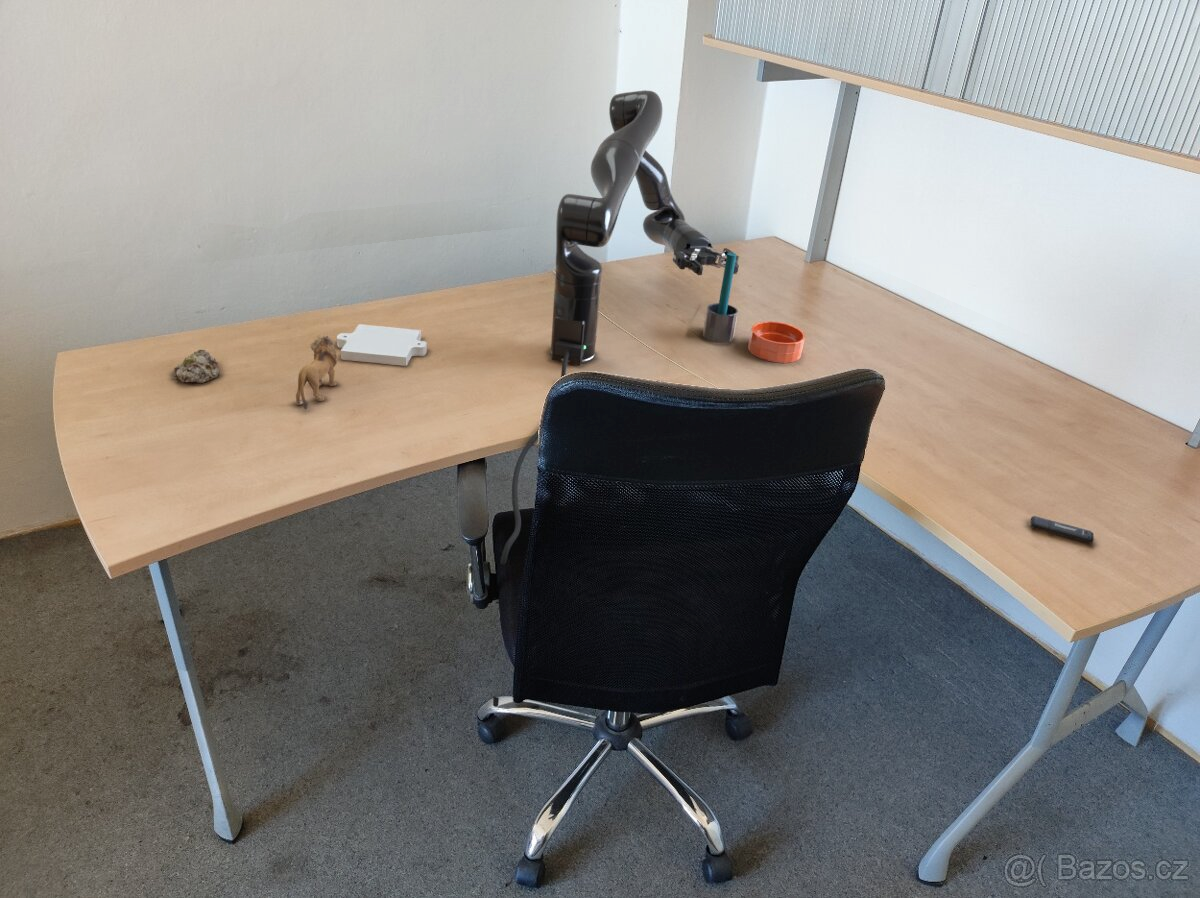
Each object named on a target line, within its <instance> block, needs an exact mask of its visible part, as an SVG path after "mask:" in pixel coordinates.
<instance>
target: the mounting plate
mask: <svg viewBox="0 0 1200 898" xmlns="http://www.w3.org/2000/svg"><path fill="white" fill-rule="evenodd" d="M421 339H422V330H420V329H414V328H413V329H411V328H404V327H403V328H402V327H392V326H381V325H372V324H361V323H359V324H358V325H357V326H356V328H355V329H354V331H353V332H349V333H348V332H342V333H339V334H337V336H336V344H337V348H339V349H340V360H344V361H353V362H361V363H362V362H363V363H373V364H383V365H393V366H400V367H401V366H403V367H408V364H409V362H410V360H411V359H412V357H416V356H417V357H423V356H426V355H427V353H428V342H426V341H424V340H421Z"/></svg>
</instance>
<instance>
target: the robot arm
mask: <svg viewBox="0 0 1200 898" xmlns="http://www.w3.org/2000/svg"><path fill="white" fill-rule="evenodd" d="M608 109H609V111H608V112H609V113H608V114H609V115H608V116H609V121H610V125H611V128H612V131H613V132H612V133H611V134H610V135H608V136H607V137H605V139H603V141H602V142H601V143H600V144H599V146H598V148H597V150H596V151H595V153H594V156H593V158H592V160H591V164H590V175H591V179H592V182H593V184H594V186H595V187H596V190H597V191H598V193H599V194H600V196H601V197H594V196H588V195H581V194H575V193H567V194H564V195H563V196H562V197H561V199H560V201H559V202H558V207H557V211H556V225H555V228H556V229H555V230H556V231H555V232H556V233H555V237H556V238H555V239H556V240H555V242H556V243H555V278H554V279H555V280H554V281H555V282H554V293H553V306H552V307H553V309H552V321H551V341H550V351H549V355H550V356H551V360H552V361H555V362H561V363H562V365H561V373H560V378H561V377H562V376H564V375H567V367H568V364H569V365H574V366H578V367H579V366H581V365H582V364H586V363H589V362H592V361H593V360H594V359H595V357H596V343H597V332H598V318H599V309H600V296H601V289H602V288H601V287H602V277H603V266H602V264H601V263H600V262H599V261H598V260H597V259H596V258H594V257H592V256H591V255H588V254H587V253H586V252H585V251H584V250H582V248H581V247H580V246H583V247H584V246H585V247H591V248H603V247H605V246H606V245H607V244H608V243H609V241H610V240H611V237H612V235H613V232H614V230H615V226H616V224H617V220H618V218H619V214H620V211H621V208H622V205H623V202H624V199H625V197H626V194H627V192H628V190H629V189H630V186H631V184H632V183H633V180H634V178H635V179H636V182H637V186H638V189H639V192H640V196H641V199H642V203H643V204H644V206H645V208H646V209H647V210H649V211H653V212H651V213H650V214H648V215H647V216H645V217H644V218H643V221H642V230H643V233H644V234H645V235H646V237H647V238H648V239H649V240H650V241H652V242H653V243H655V244H658V245H661V246H665V247H668V248H670V249H671V250H672V252H673V255H672V262H673V263H674V264H675V265H676V266H677V267H678V269H680V270H685V269H687V270H688V271H692V272H693V273H694V274H696V275H697V276H702V275H703V271H704V266H708V267H709V266H711V267H714V268H716V269H717V268H718V269H720V268H724V269H725V264H726V258H727V253H734V251H732V250H730V249H729V248H727V247H725V248H723V251H720V250H717V249H715V248H713V245H712V242H711V240H709V238H708V237H706V236H705V235H704V234H703V233H702V232H700V231H699V230H698V229H697V228H695V227H693V226H691V225H690V224H689V223H687V222H686V216H685V214H684V212H683V210H682V209H681V207H680V206H679V205H678V203H677V202H676V200H675V198H674V196H673V194H672V192H671V188H670V185H669V180H668V176H667V174H666V172H665V170H664V167H663V166H662V165H661V164H660V163H659V161H658V160H657V159H656V158H655V157H653V155H652V154H651V153H649V151H647V148H648V146H649V145H650V144H651V142H652V140H653V139H654V137H655V136H656V134H657V132H658V131H659V128H660V126H661V124H662V120H663V103H662V100H661V97H660V95H658V93H657V92H656V91H653V90H646V89H645V90H635V91H628V92H622V93H621V92H620V93H618V94H614V95H613V96H612V98H611V99H610V102H609V108H608ZM739 259H740V256H739V255H737V254H736V261H735V267H734V272H733V275H737V273H738V272H739V266H740V265H739V263H738V262H739ZM724 262H725V263H724ZM538 430H539V428H538V429H537V430H536V431H535V432H534V434H533V435H532V436H531V437H530V439H528V441H527V442H526V443H525V445H524V447H523V448H522V451H521V452H520V454H519V457H518V458H517V461H516V464H515V467H514V471H513V474H512V475H513V476H512V482H511V502H512V511H513V514H514V529H513V530H514V531H513V532H512V534H511V535H510V537H508V540H507V541H506V542H505V545H504V547H503V550H502V553H501V556H500V564H501V565H506V564H507V561H508V556H509V553H510V550H511V548H512V546H513V544H514V543H515V541H516V540H517V539H518V537H519V535H520V532H521V528H522V518H521V517H522V516H521V512H520V507H519V496H518V495H519V494H518V489H519V488H518V485H519V482H518V481H519V477H520V472H521V468H522V464H523V462H524V460H525V458H526V455H527V454H528V452H529V450H530V449H531V447H532V446H533V445H534V443H535V442H536V441H537V439H538V438H539V437H538ZM499 699H500V698H499V697H497V696H493V698H492V700H493V701H492V706H493V707H494V708H497V707H499V702H500V701H499Z"/></svg>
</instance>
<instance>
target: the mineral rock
mask: <svg viewBox="0 0 1200 898" xmlns="http://www.w3.org/2000/svg"><path fill="white" fill-rule="evenodd" d="M219 373H220V367H219V362H218V361H217V359H216V358H215V357H213V355H211V352H209V351H206V349H198V350H196V351H194V352H193V353H191V354H190V355H188V356H187V357H184V360H183V361H182V363H181V364H178V365H176V366H175V367H173V375H174V379H175V380H179V381H181V382H182V383H197V384H202V383H205V382H208V381H210V380H212V379H215V378H217V377H218V375H219Z"/></svg>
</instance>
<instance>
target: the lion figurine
mask: <svg viewBox="0 0 1200 898" xmlns="http://www.w3.org/2000/svg"><path fill="white" fill-rule="evenodd" d="M309 347H310V349H311V351H313V361H312V362H311V363H310V364H307V365H304V366H302V368H301V369H300V370H299V373H298V378H297V390H296V394H295V404H296V406H301V405H303V409H304V410H307V409H308V403H307V401H306V398H305V386H306V385H307V384H308V385H309V386H310V387H311V389H312V392H313V393H312V394H313V395H312V396H313V397H314V398H315V399H316V400H317V401H318V402H323V401H325V397H324V396H323V395H320V393H319V392H320V391H319V390H320V386H322V385H323V381H322V379H324V378H326V376H327V375H328V379H329V380H328V384H329V386H331V387H335V386H337V383H336V382H335V375H336V371H335V367H336V365H337V363H338V361H337V359H338V355H337V351H336V346H335V342H334V340H332V338H331V337H329V336H328V335H326V334H319V335H317V336H316V338H315V339H314V340H313V342H312V343H310V344H309Z"/></svg>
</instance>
